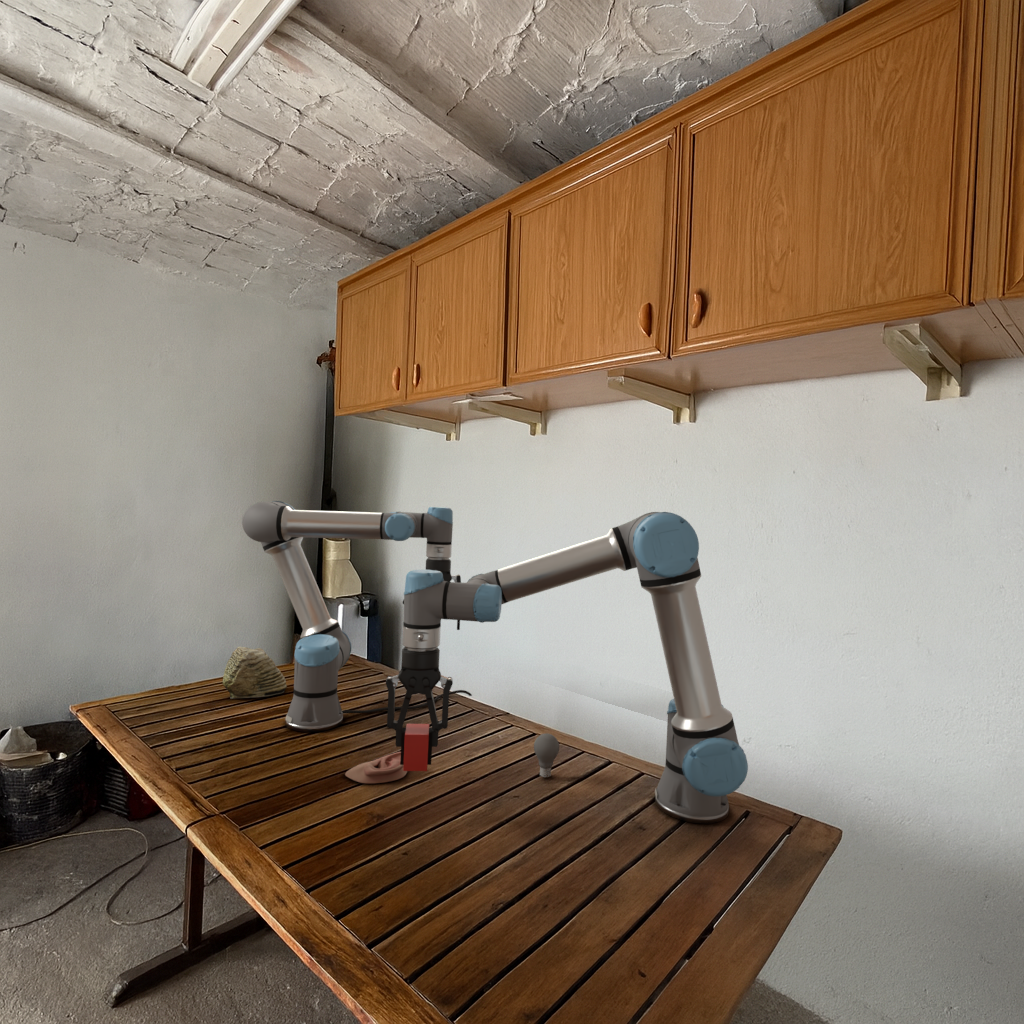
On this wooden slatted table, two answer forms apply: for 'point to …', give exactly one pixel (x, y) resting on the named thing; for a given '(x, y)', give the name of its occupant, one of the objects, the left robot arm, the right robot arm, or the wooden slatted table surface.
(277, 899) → the wooden slatted table surface
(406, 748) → the block
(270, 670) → the fossil
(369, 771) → the anatomical model
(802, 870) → the wooden slatted table surface
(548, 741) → the light bulb
